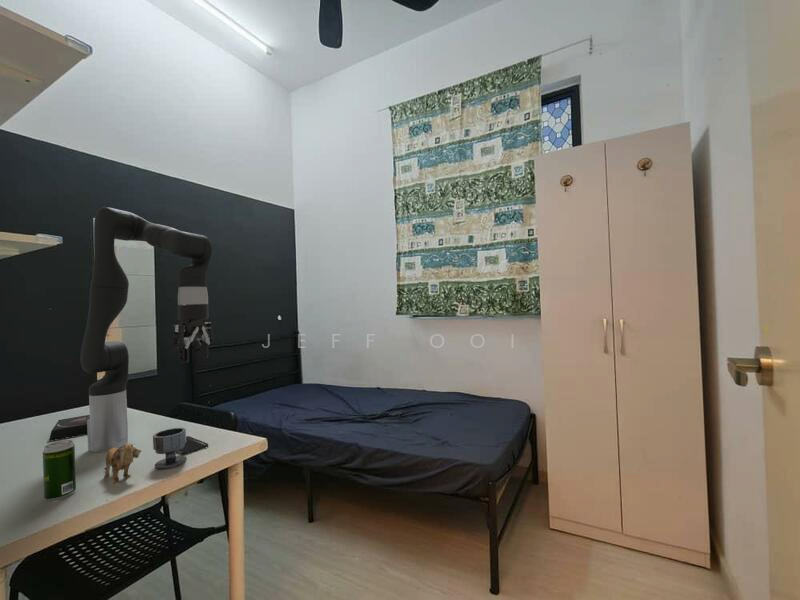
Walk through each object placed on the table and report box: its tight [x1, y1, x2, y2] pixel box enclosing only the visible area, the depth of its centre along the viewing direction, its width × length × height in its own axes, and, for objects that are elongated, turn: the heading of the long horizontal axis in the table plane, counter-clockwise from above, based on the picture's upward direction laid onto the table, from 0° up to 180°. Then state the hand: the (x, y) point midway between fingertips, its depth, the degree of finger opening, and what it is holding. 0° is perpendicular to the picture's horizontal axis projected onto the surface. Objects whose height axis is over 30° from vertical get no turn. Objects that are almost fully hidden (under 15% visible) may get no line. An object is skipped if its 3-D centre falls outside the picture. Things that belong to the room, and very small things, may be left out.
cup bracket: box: [152, 427, 187, 471], centre depth 99 cm, size 7×7×8 cm
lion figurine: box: [103, 443, 142, 484], centre depth 92 cm, size 15×5×9 cm, turn 61°
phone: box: [176, 435, 209, 456], centre depth 111 cm, size 8×1×15 cm
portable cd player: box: [48, 414, 90, 441], centre depth 134 cm, size 16×17×4 cm
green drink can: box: [42, 439, 77, 502], centre depth 83 cm, size 5×5×12 cm
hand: (194, 360), depth 102 cm, fingers open, 8 cm apart
